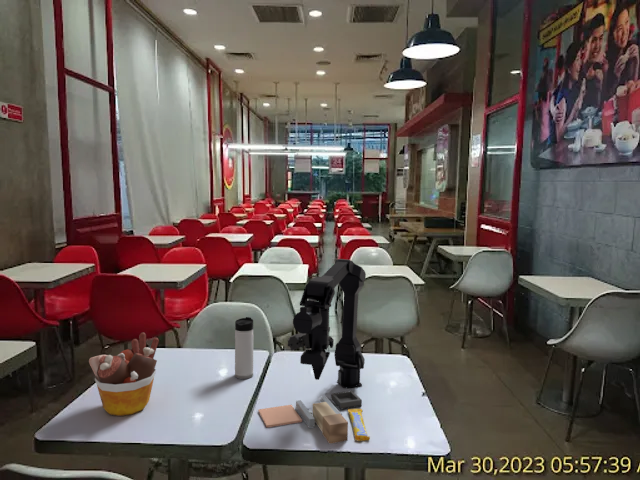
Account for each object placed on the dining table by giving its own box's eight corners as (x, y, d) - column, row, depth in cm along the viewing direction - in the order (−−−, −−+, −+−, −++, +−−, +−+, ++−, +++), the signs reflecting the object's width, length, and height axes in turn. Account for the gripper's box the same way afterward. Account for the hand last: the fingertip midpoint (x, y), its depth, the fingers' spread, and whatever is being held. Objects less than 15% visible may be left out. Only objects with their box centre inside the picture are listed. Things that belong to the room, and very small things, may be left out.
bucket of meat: (131, 426, 122) (129, 354, 121) (78, 419, 126) (76, 348, 124) (171, 396, 142) (170, 333, 140) (124, 390, 145) (123, 328, 144)
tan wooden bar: (325, 416, 130) (325, 401, 130) (337, 432, 122) (338, 415, 122) (312, 419, 129) (312, 403, 129) (323, 434, 120) (324, 418, 120)
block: (339, 431, 122) (340, 413, 122) (347, 440, 117) (347, 422, 117) (322, 434, 120) (322, 416, 120) (329, 444, 116) (329, 425, 115)
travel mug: (256, 373, 161) (257, 317, 159) (247, 380, 155) (248, 322, 153) (241, 371, 163) (241, 316, 161) (231, 377, 157) (231, 320, 155)
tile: (291, 406, 136) (291, 404, 136) (301, 421, 127) (302, 419, 127) (258, 411, 132) (258, 409, 132) (266, 427, 123) (266, 425, 123)
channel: (325, 404, 138) (326, 396, 138) (341, 422, 127) (341, 414, 126) (295, 409, 134) (295, 400, 134) (309, 428, 123) (309, 419, 123)
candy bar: (370, 444, 117) (371, 437, 117) (354, 444, 117) (354, 437, 116) (361, 413, 133) (362, 407, 133) (347, 413, 133) (347, 407, 133)
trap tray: (351, 396, 144) (351, 390, 143) (361, 406, 137) (361, 399, 137) (331, 399, 141) (331, 393, 141) (340, 409, 135) (340, 403, 134)
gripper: (298, 315, 139) (297, 365, 140) (282, 331, 120) (281, 389, 122) (334, 318, 137) (333, 368, 138) (323, 334, 118) (322, 393, 120)
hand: (317, 379), depth 129 cm, fingers closed
